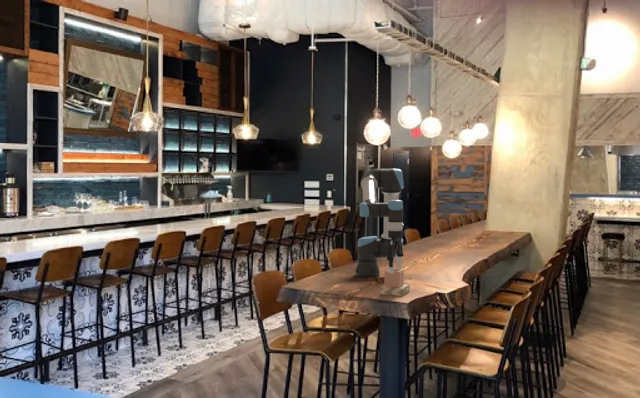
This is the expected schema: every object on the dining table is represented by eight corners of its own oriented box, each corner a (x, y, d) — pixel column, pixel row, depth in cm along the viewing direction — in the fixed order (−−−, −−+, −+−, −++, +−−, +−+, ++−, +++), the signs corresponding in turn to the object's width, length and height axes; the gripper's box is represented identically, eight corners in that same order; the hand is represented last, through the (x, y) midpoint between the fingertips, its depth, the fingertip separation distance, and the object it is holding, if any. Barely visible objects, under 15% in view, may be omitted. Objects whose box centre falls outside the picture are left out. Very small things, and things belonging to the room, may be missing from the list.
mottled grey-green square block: (380, 294, 321) (380, 287, 320) (387, 290, 332) (387, 283, 331) (403, 296, 316) (403, 288, 316) (409, 292, 327) (409, 284, 327)
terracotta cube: (384, 286, 321) (384, 271, 321) (388, 284, 329) (388, 268, 328) (399, 287, 318) (399, 272, 318) (403, 284, 326) (403, 269, 325)
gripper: (395, 232, 309) (395, 275, 310) (409, 228, 332) (408, 267, 333) (380, 232, 312) (380, 274, 313) (395, 227, 335) (395, 266, 336)
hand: (395, 271), depth 323 cm, fingers open, 13 cm apart
